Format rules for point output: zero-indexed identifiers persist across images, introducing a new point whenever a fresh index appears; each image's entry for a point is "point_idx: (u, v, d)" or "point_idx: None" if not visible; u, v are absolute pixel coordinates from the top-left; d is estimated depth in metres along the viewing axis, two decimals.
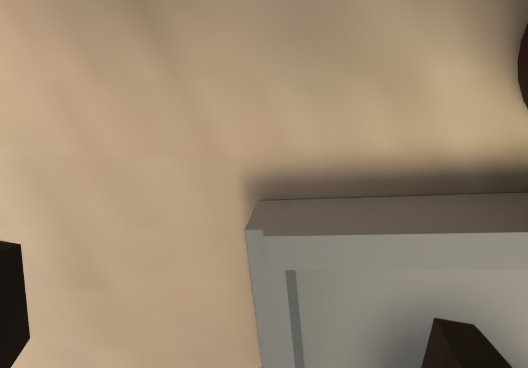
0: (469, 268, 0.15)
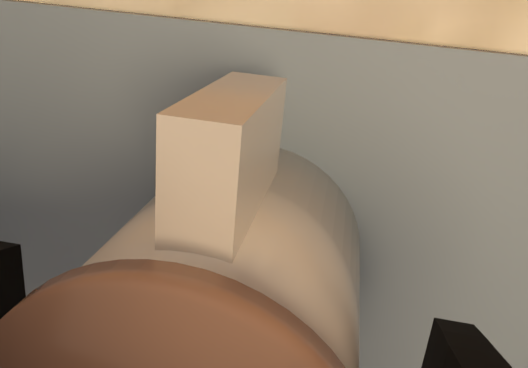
0: None
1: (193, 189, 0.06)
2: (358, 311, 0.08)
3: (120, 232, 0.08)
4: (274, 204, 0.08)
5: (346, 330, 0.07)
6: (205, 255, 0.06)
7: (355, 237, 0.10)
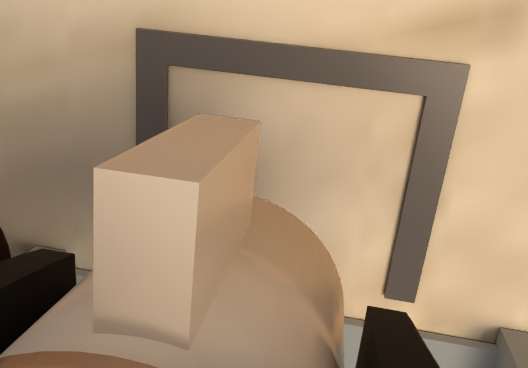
0: None
1: (140, 259, 0.05)
2: None
3: (60, 302, 0.06)
4: (246, 266, 0.07)
5: None
6: (155, 340, 0.05)
7: (338, 297, 0.09)
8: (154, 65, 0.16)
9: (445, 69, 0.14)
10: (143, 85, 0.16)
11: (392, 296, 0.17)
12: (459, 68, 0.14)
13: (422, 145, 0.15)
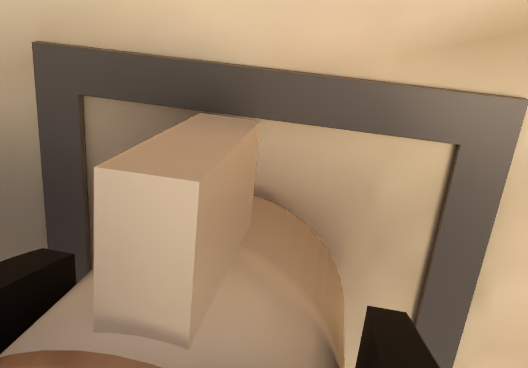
0: None
1: (140, 258, 0.05)
2: None
3: (61, 301, 0.06)
4: (246, 266, 0.07)
5: None
6: (155, 339, 0.05)
7: (338, 297, 0.09)
8: (61, 95, 0.11)
9: (489, 106, 0.09)
10: (48, 123, 0.11)
11: None
12: (511, 104, 0.09)
13: (452, 215, 0.10)
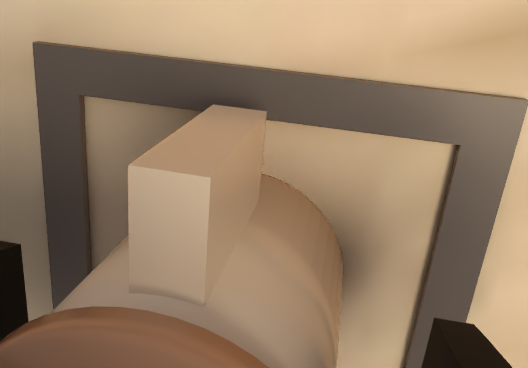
0: None
1: (165, 236, 0.06)
2: (335, 342, 0.09)
3: (100, 267, 0.08)
4: (253, 239, 0.08)
5: None
6: (178, 298, 0.06)
7: (337, 264, 0.10)
8: (62, 95, 0.11)
9: (490, 106, 0.09)
10: (48, 123, 0.11)
11: None
12: (511, 105, 0.09)
13: (452, 215, 0.10)
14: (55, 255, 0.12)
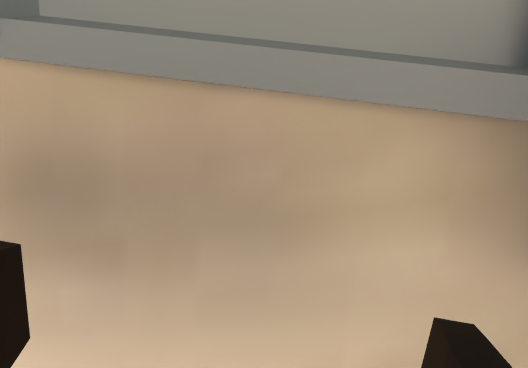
0: None
1: None
2: None
3: None
4: None
5: None
6: None
7: None
8: None
9: None
10: None
11: None
12: None
13: None
14: None
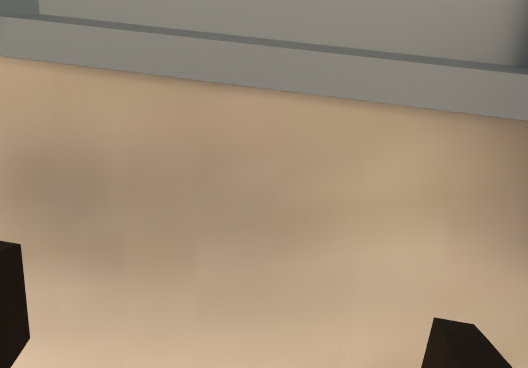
0: None
1: None
2: None
3: None
4: None
5: None
6: None
7: None
8: None
9: None
10: None
11: None
12: None
13: None
14: None
